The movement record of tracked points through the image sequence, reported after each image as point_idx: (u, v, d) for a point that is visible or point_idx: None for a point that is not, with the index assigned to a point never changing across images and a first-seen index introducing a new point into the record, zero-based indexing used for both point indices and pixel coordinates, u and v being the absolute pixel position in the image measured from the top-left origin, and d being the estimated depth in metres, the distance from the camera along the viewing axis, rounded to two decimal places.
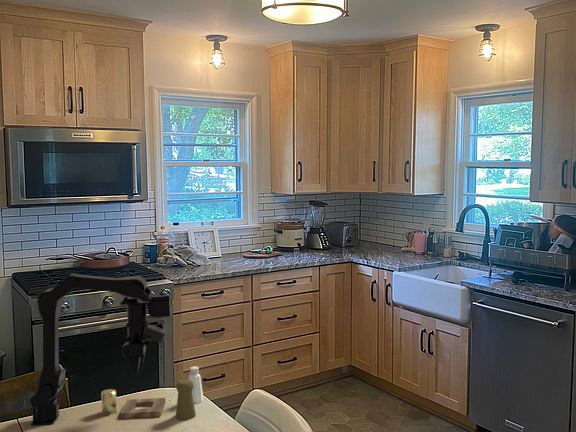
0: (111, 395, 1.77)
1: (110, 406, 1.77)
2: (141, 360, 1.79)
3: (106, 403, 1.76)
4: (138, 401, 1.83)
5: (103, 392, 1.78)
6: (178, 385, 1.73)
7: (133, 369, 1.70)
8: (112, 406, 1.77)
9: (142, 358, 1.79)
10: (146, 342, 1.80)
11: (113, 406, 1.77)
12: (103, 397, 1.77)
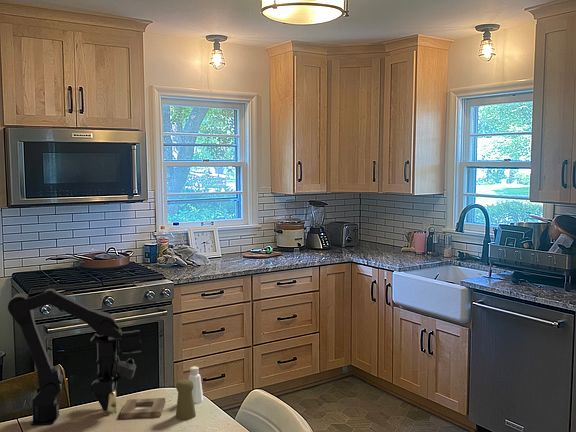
0: (111, 395, 1.77)
1: (110, 406, 1.77)
2: None
3: None
4: (138, 401, 1.83)
5: None
6: (178, 385, 1.73)
7: (102, 406, 1.73)
8: (112, 406, 1.77)
9: None
10: (117, 377, 1.83)
11: (113, 406, 1.77)
12: None
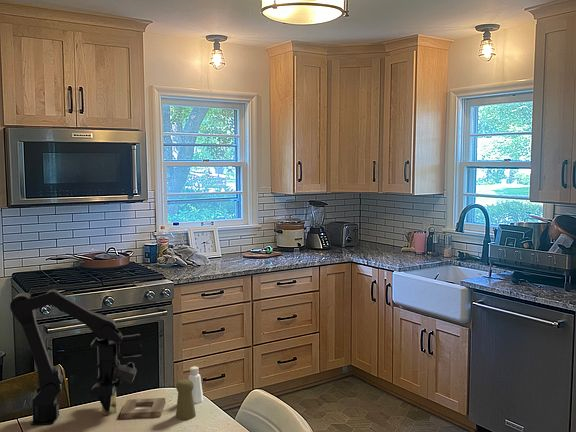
0: None
1: (110, 406, 1.77)
2: None
3: None
4: (138, 401, 1.83)
5: None
6: (178, 385, 1.73)
7: (105, 407, 1.76)
8: (112, 406, 1.77)
9: None
10: (116, 383, 1.81)
11: (113, 406, 1.77)
12: None
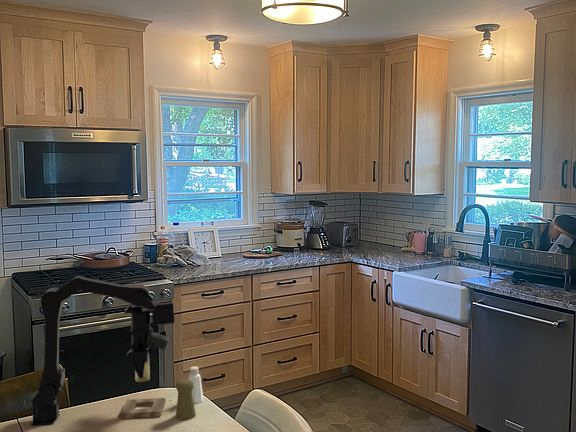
0: (145, 362, 1.77)
1: None
2: None
3: None
4: (138, 401, 1.83)
5: None
6: (178, 385, 1.73)
7: (138, 373, 1.76)
8: (145, 373, 1.77)
9: None
10: (148, 351, 1.82)
11: (147, 373, 1.78)
12: None
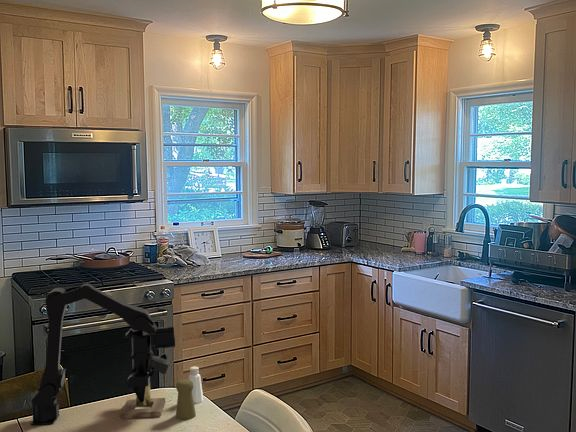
0: None
1: (144, 397, 1.77)
2: None
3: None
4: None
5: None
6: (178, 385, 1.73)
7: (139, 397, 1.76)
8: (146, 397, 1.78)
9: None
10: (149, 374, 1.82)
11: (147, 397, 1.78)
12: None
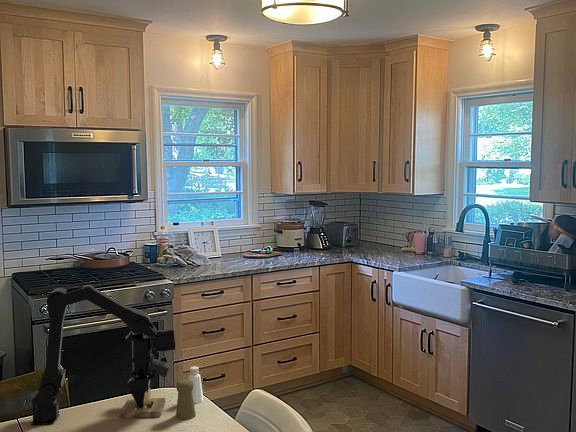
0: (146, 393, 1.78)
1: (144, 404, 1.78)
2: None
3: None
4: None
5: None
6: (178, 385, 1.73)
7: (138, 403, 1.74)
8: (147, 404, 1.78)
9: None
10: (150, 375, 1.84)
11: (148, 404, 1.78)
12: None
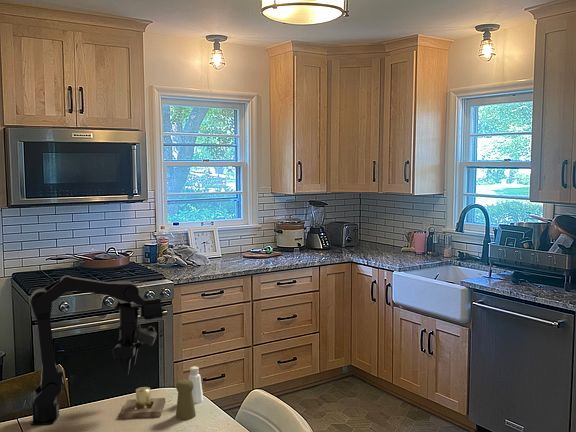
0: (146, 392, 1.78)
1: (144, 403, 1.78)
2: (133, 362, 1.87)
3: (141, 400, 1.77)
4: None
5: (138, 390, 1.79)
6: (178, 385, 1.73)
7: (124, 370, 1.77)
8: (147, 404, 1.78)
9: (134, 360, 1.87)
10: (138, 345, 1.88)
11: (148, 404, 1.78)
12: (138, 395, 1.77)
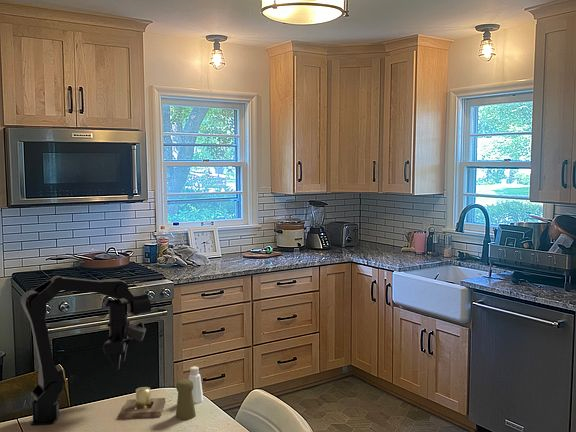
0: (146, 393, 1.78)
1: (144, 404, 1.78)
2: (123, 357, 1.91)
3: (141, 400, 1.77)
4: None
5: (137, 390, 1.79)
6: (178, 385, 1.73)
7: (114, 366, 1.81)
8: (147, 404, 1.78)
9: (123, 355, 1.91)
10: (127, 340, 1.91)
11: (148, 404, 1.78)
12: (138, 395, 1.77)
